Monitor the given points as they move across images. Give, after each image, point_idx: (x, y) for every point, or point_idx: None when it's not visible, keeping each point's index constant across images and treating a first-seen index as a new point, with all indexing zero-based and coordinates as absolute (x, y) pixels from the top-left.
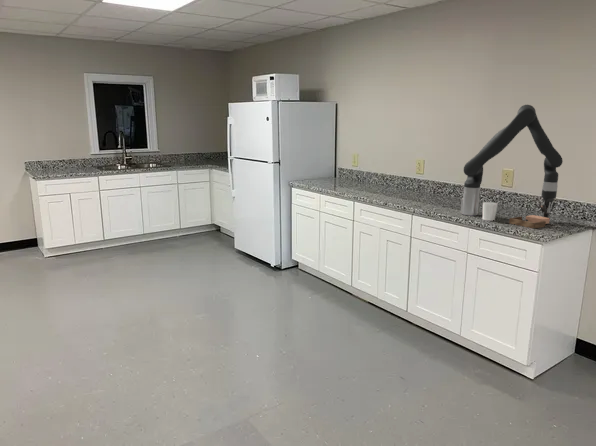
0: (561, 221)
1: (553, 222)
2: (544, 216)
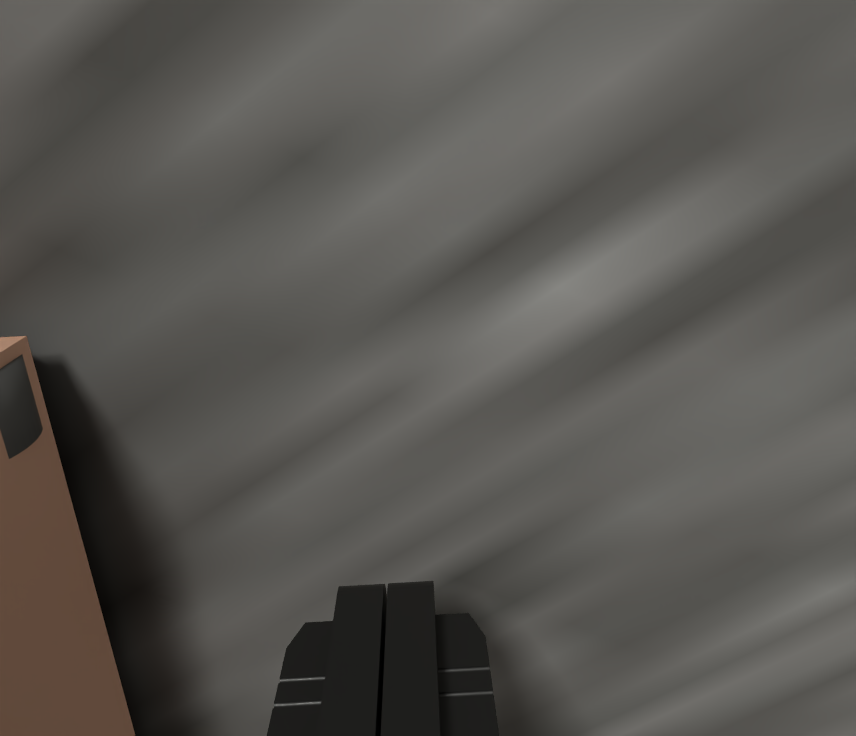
0: (834, 727)
1: None
2: (299, 701)
